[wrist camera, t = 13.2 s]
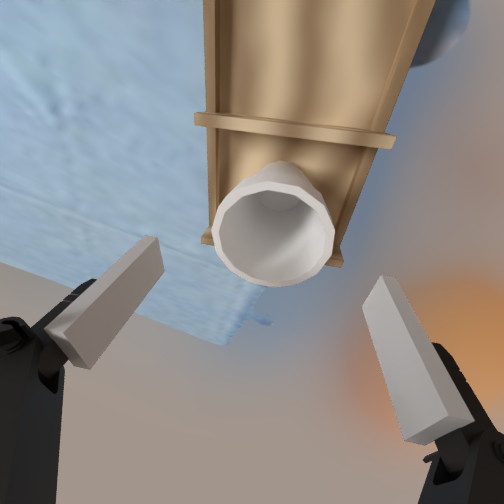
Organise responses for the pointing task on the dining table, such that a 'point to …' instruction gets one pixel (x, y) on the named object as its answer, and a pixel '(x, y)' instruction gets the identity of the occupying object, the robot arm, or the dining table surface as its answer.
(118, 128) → the dining table surface
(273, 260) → the foam cup
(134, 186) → the dining table surface
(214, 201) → the rack
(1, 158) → the dining table surface
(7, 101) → the dining table surface
